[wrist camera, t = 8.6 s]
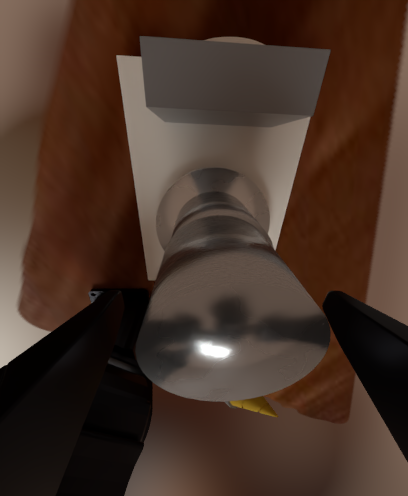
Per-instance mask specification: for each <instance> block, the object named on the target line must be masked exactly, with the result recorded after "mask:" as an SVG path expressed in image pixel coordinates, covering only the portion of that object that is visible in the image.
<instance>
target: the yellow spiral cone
mask: <svg viewBox="0 0 408 496" xmlns="http://www.w3.org/2000/svg"><path fill="white" fill-rule="evenodd" d="M224 402H225V403H226V404H227V405H228V406H229V407H231V408H237V407H240V408H244V409H248V410H252V411H255V412H258V411H260V413H262V414H266V415H270V416H274V417H278V416H277V414H276V413H275V411H274V410H273V409H272V407H271V406H270V405H269V403H268V402H267V401H266V400H265V398H264V397H263V396H260V397H256V398H251V399H245V400H237V401H224Z"/></svg>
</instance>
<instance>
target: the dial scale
mask: <svg viewBox="0 0 408 496" xmlns="http://www.w3.org/2000/svg"><path fill="white" fill-rule="evenodd" d="M140 47H141V57H136V56H121V55H116V57H117V64H118V71H119V78H120V85H121V92H122V99H123V106H124V113H125V120H126V127H127V134H128V141H129V149H130V156H131V163H132V170H133V177H134V184H135V191H136V198H137V205H138V212H139V219H140V226H141V233H142V240H143V248H144V255H145V262H146V269H147V276H148V280H156V278H157V274H158V271H159V268H160V265H161V262H162V258H163V255H164V252H165V249H166V247H167V244H168V242H169V241H170V240H171V237H172V233H173V230H174V226H175V223H176V219H177V216H178V214H179V212H180V210H181V208H182V207H183V206H184V205H185V204H186V202H188V201H189V200H190V199H192V198H193V197H195V196H197V195H199V194H202V193H205V192H212V191H217V192H224V193H227V194H230V195H232V196H234V197H236V198H237V199H238V200H239V201H241V202H242V204H243V205H244V206H245V207H246V208H247V209H248V211H249V212H250V213H251V214H252V215H253V217H254V218H255V219H256V220H257V222H258V223H259V224H260V225H261V226H262V228H263V229H264V230H265V231H266V233H267V234H268V235H269V237H270V239H271V241H272V244H273V247H274V250H276V246H277V242H278V239H279V235H280V231H281V227H282V223H283V220H284V216H285V212H286V208H287V204H288V200H289V197H290V193H291V189H292V185H293V181H294V178H295V174H296V170H297V166H298V162H299V159H300V155H301V151H302V147H303V143H304V140H305V136H306V132H307V128H308V124H309V120H310V117H311V116H313V114H314V111H315V107H316V103H317V99H318V96H319V92H320V88H321V85H322V81H323V77H324V73H325V70H326V66H327V62H328V58H329V55H330V51H331V50H327V49H313V48H299V47H286V46H272V45H264V44H262V43H260V42H258V41H255V40H252V39H247V38H241V37H218V38H211V39H207V40H189V39H176V38H162V37H148V36H140Z"/></svg>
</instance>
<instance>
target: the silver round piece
mask: <svg viewBox="0 0 408 496" xmlns="http://www.w3.org/2000/svg"><path fill="white" fill-rule="evenodd" d="M216 215H224V216H232V217H237V218H240V219H242V220H245V221H247V222H249V223H251V224H252V225H253V226H255V227H256V228H257V229H258V230H259V231H260V232H261V233H262V234H263V235H264V236H265V238H266V239H267V240H268V242H269V243H270V244H271V246H272V247H273V244H272V241H271V239H270V237H269V235H268V234H267V233H266V231H265V230H264V229H263V228H262V226H261V225H260V224H259V223H258V222H257V220H256V219H255V218H254V217H253V215H252V214H251V213H250V212H249V211H248V209H247V208H246V207H245V206H244V205H243V204H242V202H241V201H239V200H238V199H237V198H236V197H234V196H232V195H230V194H227V193H224V192H217V191H212V192H205V193H202V194H199V195H197V196H195V197H193V198H192V199H190V200H189V201H188V202H186V204H185V205H184V206H183V207H182V208H181V210H180V212H179V214H178V216H177V219H176V223H175V226H174V230H173V233H172V237H173V236H174V234H175V233H176V232H177V231H178V230H180V229H181V228H182V227H183V226H185V225H187V224H188V223H190V222H192V221H195V220H197V219H200V218H203V217H208V216H216ZM172 237H171V238H172ZM273 248H274V247H273Z"/></svg>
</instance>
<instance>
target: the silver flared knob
mask: <svg viewBox="0 0 408 496" xmlns="http://www.w3.org/2000/svg"><path fill="white" fill-rule="evenodd" d="M329 342H330V327H329V323H328V321H327V319H326V316H325V315H324V314H323V312H322V311H321V310H320V308H319V307H318V306H317V304H316V303H315V302H314V300H313V299H312V298H311V296H310V295H309V294H308V293H307V291H306V290H305V289H304V287H303V286H302V285H301V283H300V282H299V281H298V280H297V278H296V277H295V276H294V274H293V273H292V272H291V270H290V269H289V268H288V266H287V265H286V264H285V263H284V261H283V260H282V259H281V257H280V256H279V255H278V253H277V252H276V251H275V250H274V248H273V247H272V246H271V244H270V243H269V242H268V240H267V239H266V238H265V236H264V235H263V234H262V233H261V232H260V231H259V230H258V229H257V228H256V227H255V226H253V225H252V224H251V223H249V222H247V221H245V220H242V219H240V218H237V217H232V216H224V215H216V216H208V217H203V218H200V219H197V220H195V221H192V222H190V223H188V224H187V225H185V226H183V227H182V228H181V229H180V230H178V231H177V232H176V233H175V234H174V236H173V237H172V238H171V240H170V241H169V242H168V244H167V247H166V249H165V252H164V255H163V258H162V262H161V265H160V268H159V271H158V274H157V278H156V281H155V284H154V287H153V290H152V294H151V297H150V300H149V303H148V306H147V310H146V313H145V316H144V319H143V323H142V326H141V329H140V332H139V335H138V339H137V342H136V350H135V352H136V359H137V362H138V364H139V367H140V368H141V370H142V371H143V373H144V374H145V375H146V376H147V377H148V379H150V380H151V381H152V382H153V383H155V384H156V385H158V386H159V387H161V388H163V389H165V390H166V391H168V392H171V393H174V394H176V395H179V396H183V397H186V398H191V399H196V400H204V401H237V400H245V399H251V398H256V397H260V396H264V395H267V394H270V393H273V392H276V391H278V390H281V389H283V388H285V387H287V386H289V385H291V384H293V383H295V382H297V381H298V380H300V379H301V378H303V377H304V376H306V375H307V374H308V373H309V372H311V371H312V370H313V369H314V368H315V367H316V366H317V365H318V364H319V362H320V361H321V360H322V358H323V357H324V355H325V353H326V351H327V349H328V346H329Z"/></svg>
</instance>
